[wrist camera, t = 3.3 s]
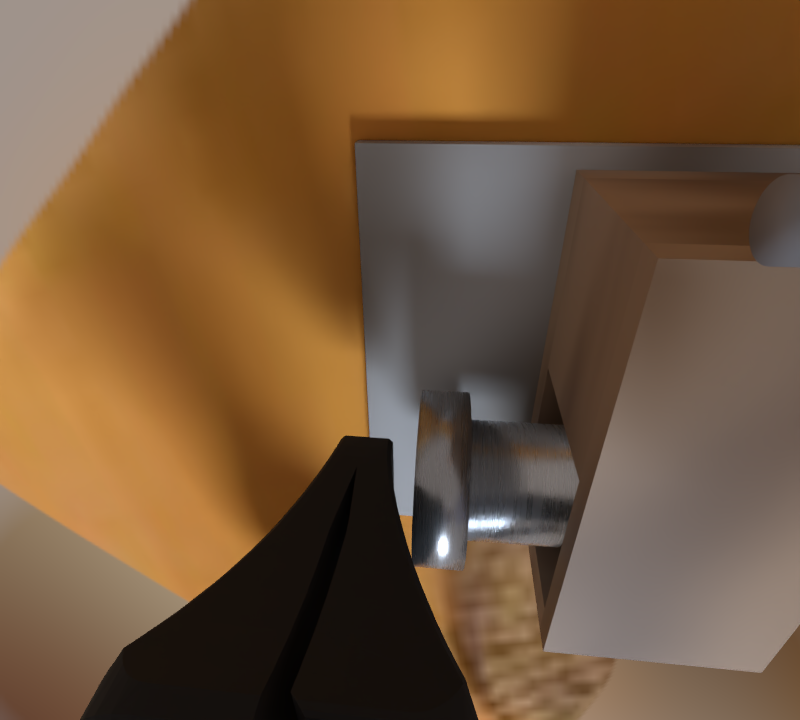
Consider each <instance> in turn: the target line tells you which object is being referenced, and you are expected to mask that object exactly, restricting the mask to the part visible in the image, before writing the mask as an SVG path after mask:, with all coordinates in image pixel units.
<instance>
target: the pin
mask: <svg viewBox="0 0 800 720" xmlns="http://www.w3.org/2000/svg"><path fill="white" fill-rule="evenodd" d="M578 484H579V478H578V475H577V471H576V467H575V464H574V460H573V456H572V453H571V449H570V446H569V442H568V438H567V435H566V431H565V427H564V425H555V424H538V423H521V422H505V421H488V420H472V418H471V398H470V393H469V392H454V391H436V390H422V395H421V402H420V411H419V422H418V434H417V447H416V462H415V479H414V497H413V520H412V561H413V564H414V567H426V568H437V569H449V570H461V571H463V569H464V565H465V558H466V549H467V540H470V541H483V542H495V543H508V544H520V545H533V546H545V547H558V548H561V547H562V543H563V539H564V535H565V532H566V528H567V524H568V521H569V517H570V513H571V510H572V506H573V502H574V499H575V495H576V491H577V488H578Z"/></svg>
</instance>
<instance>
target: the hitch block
mask: <svg viewBox="0 0 800 720" xmlns="http://www.w3.org/2000/svg"><path fill="white" fill-rule="evenodd" d="M355 158H356V178H357V197H358V217H359V236H360V256H361V275H362V295H363V315H364V334H365V354H366V373H367V393H368V412H369V432H370V437H373V438H389V439H390V440H391V441H392V442H393V460H394V491H395V497H396V502H397V507H398V512H399V515H408V516H413V497H414V479H415V462H416V447H417V434H418V422H419V411H420V402H421V395H422V390H436V391H454V392H469V393H470V398H471V418H472V420H488V421H505V422H521V423H538V424H555V425H564V427H565V431H566V435H567V438H568V442H569V446H570V449H571V453H572V456H573V460H574V464H575V467H576V471H577V475H578V478H579V484H578V488H577V491H576V495H575V499H574V502H573V506H572V510H571V513H570V517H569V521H568V524H567V528H566V532H565V535H564V539H563V543H562V547H561V548H558V547H545V546H533V545H528V546H529V553H530V560H531V567H532V575H533V582H534V589H535V596H536V603H537V611H538V618H539V625H540V632H541V639H542V647H543V651H546V652H556V653H566V654H577V655H587V656H597V657H607V658H617V659H628V660H638V661H648V662H658V663H669V664H679V665H689V666H699V667H709V668H719V669H730V670H740V671H751V672H760V673H761V672H762V671H763V670H764V669H765V668H766V666H767V665H768V664H769V663H770V661H771V660H772V659H773V657H774V656H775V655H776V654H777V652H778V651H779V650H780V649H781V647H782V646H783V645H784V644H785V642H786V641H787V640H788V639H789V637H790V636H791V635H792V633H793V632H794V630H796V628H797V627H798V626H799V625H800V267H769V266H763V265H761V264H759V263H758V262H757V261H756V260H755V258H754V257H753V255H752V252H751V249H750V244H749V228H750V222H751V218H752V214H753V211H754V208H755V206H756V204H757V202H758V200H759V198H760V196H761V194H762V193H763V192H764V190H765V189H766V188H767V186H768V185H769V184H770V183H771V182H772V181H774V180H775V179H777V178H778V177H780V176H783V175H786V174H800V145H763V144H672V143H580V142H489V141H398V140H357V141H356V142H355Z"/></svg>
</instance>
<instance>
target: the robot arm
mask: <svg viewBox="0 0 800 720" xmlns="http://www.w3.org/2000/svg"><path fill="white" fill-rule="evenodd" d="M80 720H478V717H477V714H476V711H475V708H474V705H473V702H472V699H471V696H470V693H469V689H468V686H467V682H466V680H465V678H464V676H463V674H462V672H461V670H460V668H459V667H458V665H457V663H456V661H455V659H454V657H453V655H452V653H451V651H450V649H449V647H448V645H447V643H446V641H445V639H444V637H443V635H442V633H441V630H440V628H439V626H438V624H437V622H436V620H435V617H434V615H433V612H432V610H431V608H430V605H429V603H428V601H427V598H426V596H425V593H424V591H423V589H422V586H421V584H420V581H419V578H418V575H417V573H416V570H415V567H414V564H413V561H412V558H411V555H410V552H409V549H408V546H407V542H406V539H405V535H404V532H403V528H402V524H401V520H400V516H399V512H398V507H397V502H396V497H395V491H394V460H393V442H392V441H391V440H390V439H389V438H373V437H358V436H344V437H343V438H342V439H341V440H340V442H339V444H338V445H337V447H336V448H335V450H334V452H333V453H332V455H331V456H330V458H329V459H328V461H327V462H326V463H325V465H324V466H323V468H322V469H321V470H320V472H319V473H318V475H317V476H316V477H315V479H314V480H313V481H312V482H311V484H310V485H309V486H308V488H307V489H306V490H305V492H304V493H303V494H302V495H301V497H300V498H299V499H298V500H297V501H296V503H295V504H294V505H293V506H292V507H291V508H290V510H289V511H288V512H287V513H286V514H285V515H284V517H283V518H282V519H281V520H280V521H279V522H278V523H277V524H276V525H275V527H274V528H273V529H272V530H271V531H270V532H269V533H268V534H267V535H266V536H265V537H264V538H263V539H262V540H261V541H260V542H259V543H258V544H257V545H256V546H255V547H254V548H253V549H252V550H251V551H250V552H249V553H248V554H247V555H245V556H244V557H243V558H242V559H241V560H240V561H239V562H238V563H237V564H236V565H234V566H233V567H232V568H231V569H230V570H229V571H228V572H227V573H225V574H224V575H223V576H222V577H221V578H220V579H218V580H217V581H216V582H215V583H214V584H212V585H211V586H210V587H208V588H207V589H206V590H205V591H203V592H202V593H201V594H199V595H198V596H197V597H196V598H194V599H193V600H192V601H190V602H189V603H188V604H187V605H185V606H184V607H183V608H181V609H180V610H179V611H177V612H176V613H175V614H173V615H172V616H170V617H169V618H168V619H166V620H165V621H163V622H162V623H160V624H159V625H157V626H156V627H154V628H153V629H151V630H150V631H148V632H147V633H146V634H144V635H143V636H141V637H140V638H138V639H137V640H135V641H134V642H132V643H131V644H129V645H127V646H126V647H124V648H123V650H122V652H121V653H120V654H119V656H118V657H117V659H116V660H115V662H114V663H113V664H112V666H111V667H110V669H109V670H108V672H107V674H106V675H105V676H104V678H103V680H102V681H101V683H100V685H99V687H98V689H97V690H96V692H95V694H94V696H93V698H92V699H91V701H90V703H89V705H88V707H87V708H86V710H85V712H84V714H83V716H82V717H81V719H80Z"/></svg>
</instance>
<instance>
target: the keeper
mask: <svg viewBox="0 0 800 720" xmlns="http://www.w3.org/2000/svg"><path fill="white" fill-rule="evenodd" d="M749 244H750V249H751V252H752V255H753V257H754V258H755V260H756V261H757V262H758V263H759V264H761V265H763V266H769V267H800V174H786V175H783V176H780V177H778V178H777V179H775V180H774V181H772V182H771V183H770V184H769V185H768V186H767V188H766V189H765V190H764V192H763V193H762V194H761V196H760V198H759V200H758V202H757V204H756V206H755V208H754V211H753V214H752V218H751V222H750V228H749Z"/></svg>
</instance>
